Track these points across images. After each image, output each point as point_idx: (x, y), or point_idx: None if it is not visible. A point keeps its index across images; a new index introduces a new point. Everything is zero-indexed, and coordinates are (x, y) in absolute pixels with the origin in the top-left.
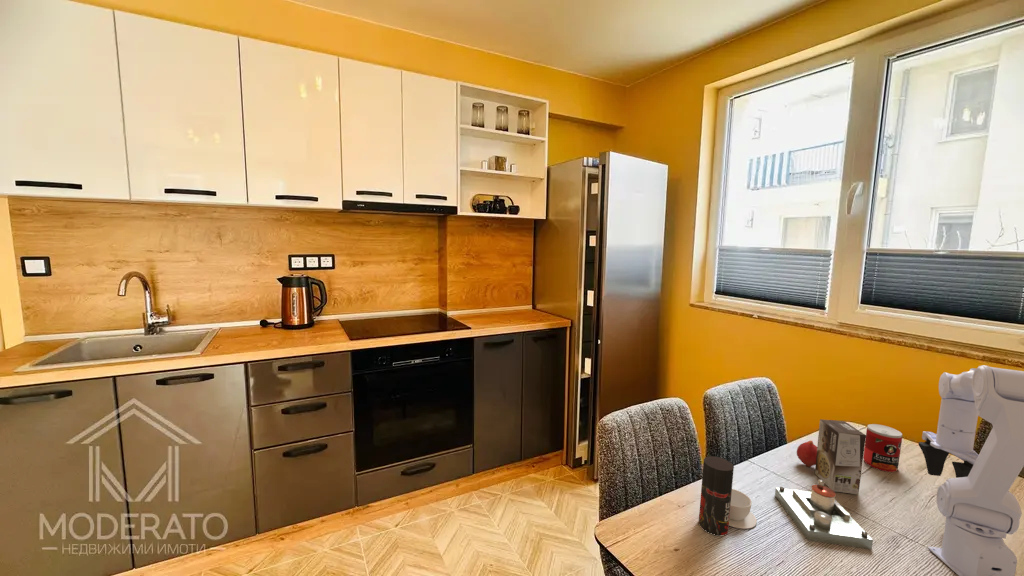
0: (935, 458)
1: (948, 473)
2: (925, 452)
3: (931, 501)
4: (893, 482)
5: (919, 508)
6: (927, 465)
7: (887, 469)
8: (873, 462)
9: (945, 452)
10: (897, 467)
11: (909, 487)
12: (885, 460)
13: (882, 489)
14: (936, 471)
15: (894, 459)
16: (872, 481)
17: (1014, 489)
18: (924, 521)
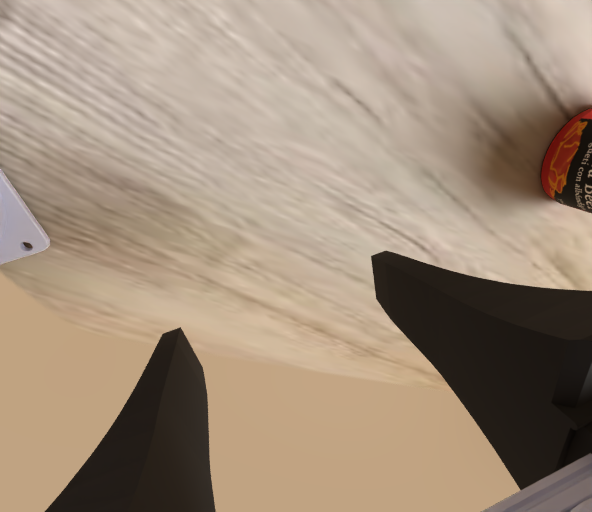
0: (455, 344)
1: None
2: (513, 308)
3: (389, 234)
4: (479, 158)
5: (326, 181)
6: (418, 267)
7: (549, 165)
8: (586, 124)
9: (503, 441)
10: (558, 199)
11: (457, 198)
12: (588, 162)
13: (422, 92)
14: (389, 295)
15: (589, 193)
16: (474, 75)
17: None
18: (230, 164)
